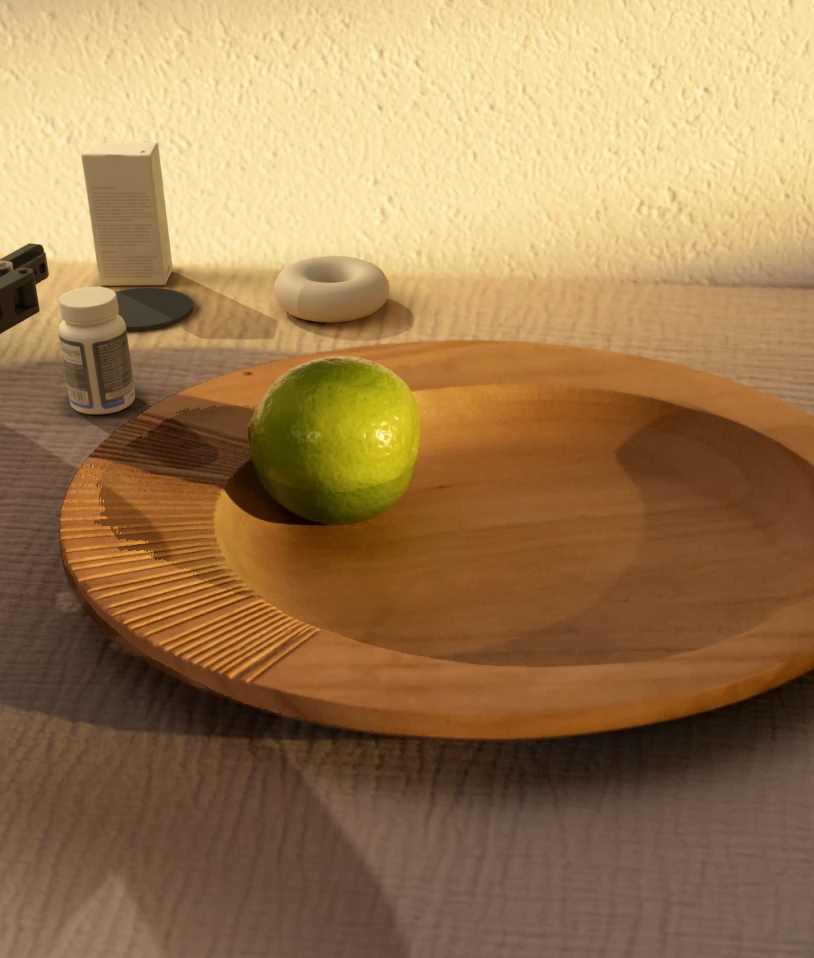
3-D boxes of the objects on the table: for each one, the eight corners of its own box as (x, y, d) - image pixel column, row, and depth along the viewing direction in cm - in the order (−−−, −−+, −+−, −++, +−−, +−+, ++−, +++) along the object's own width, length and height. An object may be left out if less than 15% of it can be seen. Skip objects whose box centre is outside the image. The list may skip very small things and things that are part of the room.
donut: (402, 292, 119) (295, 281, 120) (402, 256, 117) (294, 244, 119) (371, 335, 110) (257, 322, 112) (371, 296, 109) (255, 283, 110)
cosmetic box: (173, 270, 123) (160, 141, 117) (166, 286, 119) (151, 154, 113) (107, 269, 122) (90, 141, 116) (97, 286, 119) (79, 154, 113)
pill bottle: (137, 386, 101) (124, 282, 96) (134, 414, 97) (120, 306, 92) (72, 390, 100) (57, 285, 96) (66, 418, 96) (49, 309, 92)
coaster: (63, 319, 112) (62, 314, 112) (132, 285, 119) (131, 281, 119) (148, 339, 109) (148, 334, 108) (214, 303, 116) (213, 298, 115)
